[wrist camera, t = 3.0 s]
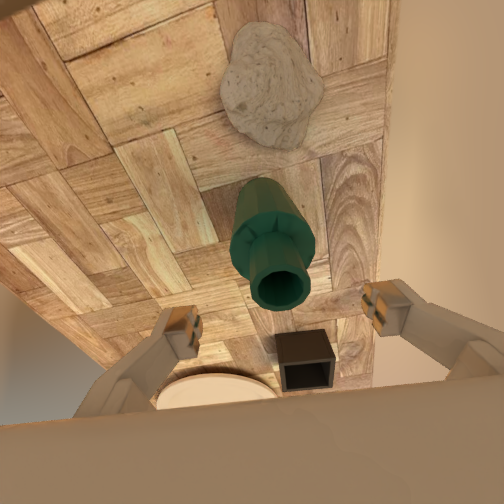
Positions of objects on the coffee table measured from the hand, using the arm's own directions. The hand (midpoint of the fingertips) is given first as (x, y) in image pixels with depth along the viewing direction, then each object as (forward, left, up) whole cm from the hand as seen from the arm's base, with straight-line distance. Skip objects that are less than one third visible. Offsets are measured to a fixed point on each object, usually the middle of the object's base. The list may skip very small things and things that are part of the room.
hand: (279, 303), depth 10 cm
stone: (-2, -10, -17) cm, 20 cm away
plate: (+15, +46, -17) cm, 51 cm away
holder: (-4, +29, -17) cm, 34 cm away
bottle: (0, 0, -17) cm, 17 cm away
